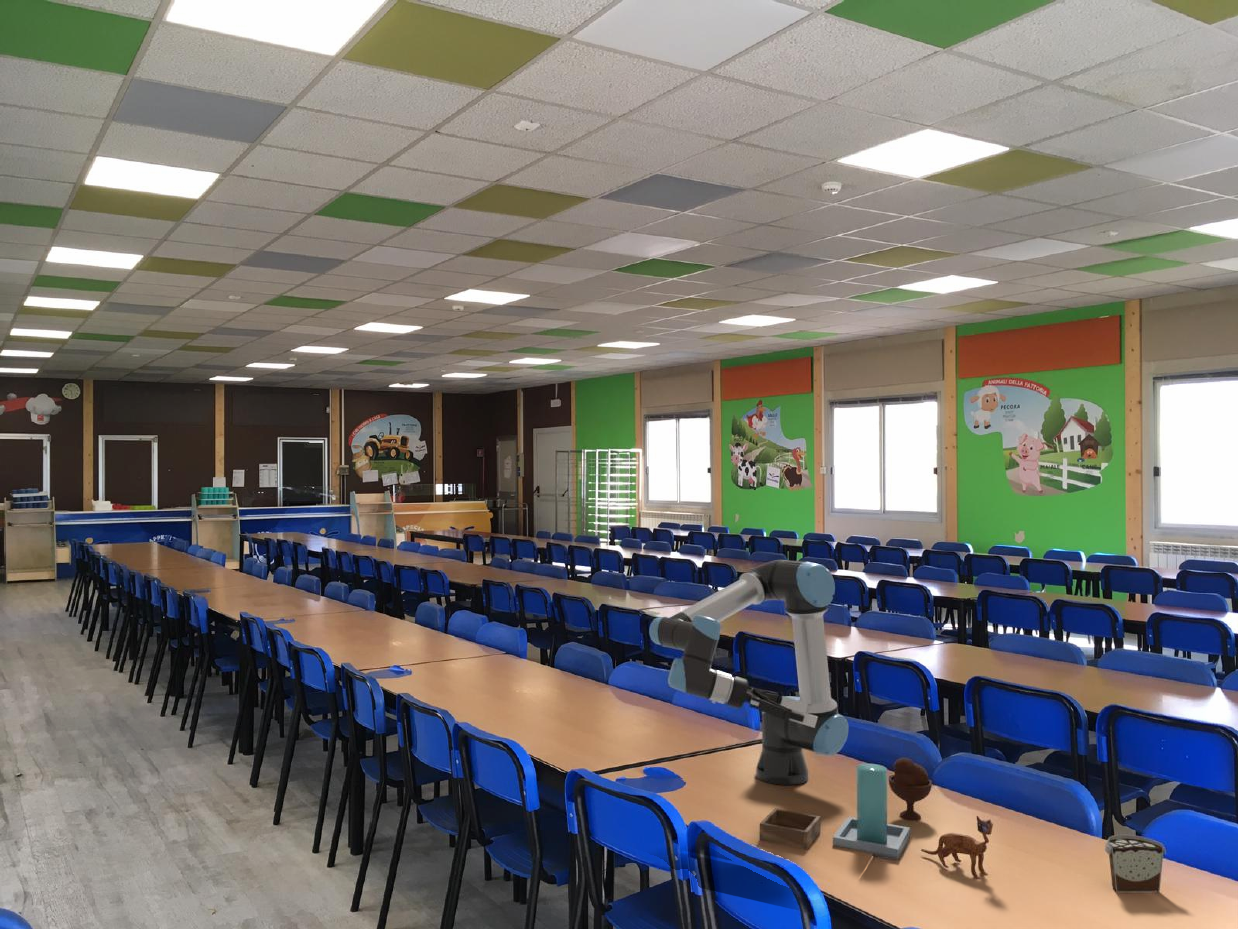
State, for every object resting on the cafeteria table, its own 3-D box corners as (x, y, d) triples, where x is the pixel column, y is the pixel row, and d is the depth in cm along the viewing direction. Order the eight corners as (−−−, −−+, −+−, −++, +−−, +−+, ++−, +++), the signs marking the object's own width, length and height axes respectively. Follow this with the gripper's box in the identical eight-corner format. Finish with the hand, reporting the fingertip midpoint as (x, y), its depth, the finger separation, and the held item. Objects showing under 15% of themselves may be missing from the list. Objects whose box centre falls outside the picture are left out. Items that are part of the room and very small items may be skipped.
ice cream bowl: (904, 827, 229) (904, 766, 229) (880, 811, 240) (880, 754, 240) (941, 823, 232) (941, 763, 232) (915, 807, 242) (915, 751, 243)
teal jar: (855, 833, 222) (855, 763, 223) (884, 834, 222) (884, 764, 222) (859, 844, 215) (859, 772, 216) (889, 846, 215) (889, 773, 215)
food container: (1148, 879, 199) (1148, 833, 199) (1166, 892, 193) (1166, 844, 193) (1093, 880, 199) (1093, 834, 199) (1109, 892, 193) (1109, 845, 193)
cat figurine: (913, 858, 210) (913, 800, 210) (928, 851, 214) (928, 794, 214) (985, 884, 196) (985, 822, 197) (1000, 876, 200) (1000, 815, 201)
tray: (848, 826, 229) (848, 816, 229) (910, 838, 222) (910, 827, 222) (832, 847, 215) (832, 837, 215) (898, 860, 208) (898, 849, 208)
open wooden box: (774, 826, 229) (774, 808, 229) (820, 835, 223) (820, 816, 223) (759, 842, 218) (759, 823, 218) (807, 851, 213) (807, 832, 213)
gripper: (720, 693, 241) (798, 717, 240) (729, 716, 216) (815, 743, 215) (728, 666, 241) (806, 690, 240) (738, 686, 216) (825, 713, 216)
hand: (810, 715), depth 228 cm, fingers open, 13 cm apart
